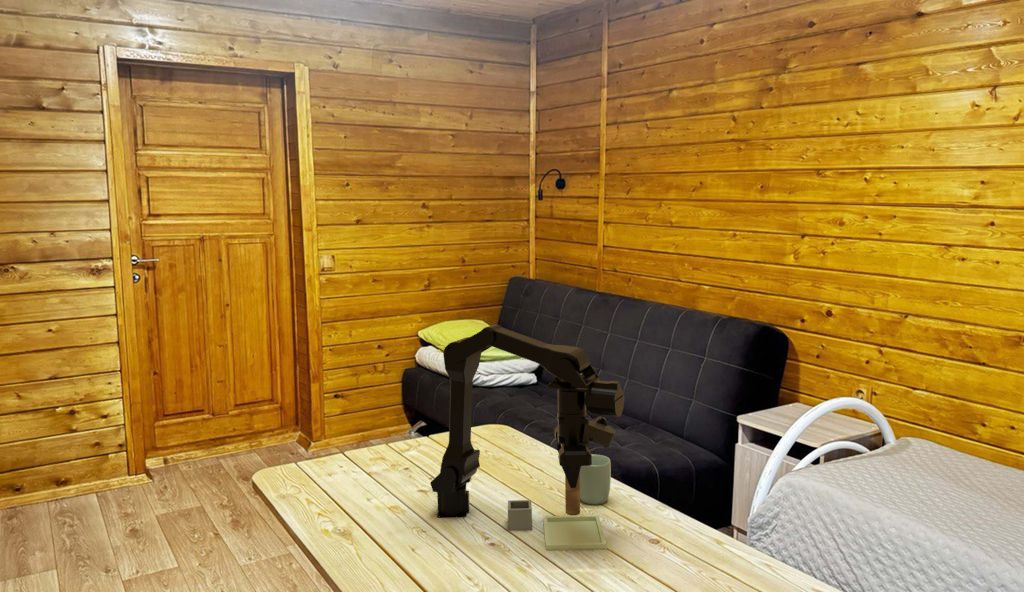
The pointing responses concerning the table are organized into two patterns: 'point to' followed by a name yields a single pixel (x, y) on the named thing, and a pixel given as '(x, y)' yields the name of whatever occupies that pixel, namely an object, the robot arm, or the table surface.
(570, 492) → the dowel
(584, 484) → the cup
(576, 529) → the tray
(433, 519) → the table surface
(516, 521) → the pen cup
